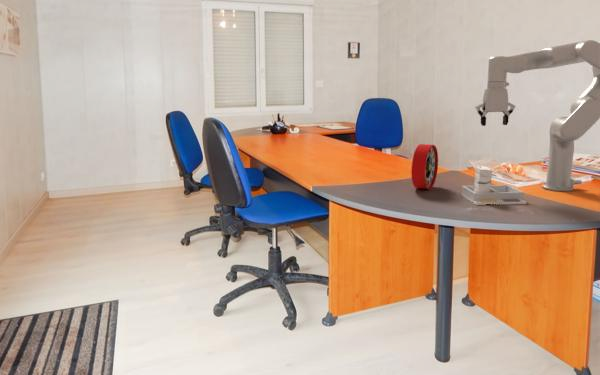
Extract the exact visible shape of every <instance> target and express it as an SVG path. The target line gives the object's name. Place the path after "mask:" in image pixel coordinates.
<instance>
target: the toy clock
mask: <svg viewBox="0 0 600 375" xmlns="http://www.w3.org/2000/svg"><path fill="white" fill-rule="evenodd" d="M438 167H439V154H438V149H437V147H436V145H434V144H428V143H427V144H425V143H419V144H418V145H417V146H416V147H415V150H414V153H413V156H412V161H411V170H410V172H411V182H412V185H413V187H414V188H415V189H419V190H420V189H422V190H431V189H433V187H434V185H435V183H436V179H437V176H438V169H439V168H438Z"/></svg>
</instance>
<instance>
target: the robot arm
mask: <svg viewBox="0 0 600 375" xmlns="http://www.w3.org/2000/svg"><path fill="white" fill-rule="evenodd" d="M579 63H587V64H589V65H591V66H592V68H591V69H592V74H593V75H592V76H593V78H592V81H591V84H590V85H588V87H587V88H586V89H585V90H584V91H583V92H582V93H581V94H580V95H579V97H578V98H576V100H574V101H573V103H572V104H571V106H570V109H569V110H570V111H569V112H570V115H569V116H559V117H557V118H555V119H554V120H553V121H552V122H551V123H550V126H549V148H548V151H549V152H548V159H547V169H546V181H545V183H542V184H541V188H543V189H545V190H548V191H555V192H572V191H574V189H575V185H582V180H581V179H574V178H572V171H573V162H574V161H573V160H574V154H575V141H577V140H579V139H580V138H583V136H584V135H585V134H586V133H587V132H588V131H589V130H590V129H591V128H592V127H593V126H594V125H595V124H596V123H597V122H598V121H599V120H600V42H598V41H597V40H596V41H595V40H593V39H588V40H582V41H576V42H571V43H567V44H563V45H562V44H561V45H555V46H550V47H546V48H544V49H541V50H540V49H539V50H536V51H531V52H526V53H520V54H516V55H511V56H503V55H498V56H490V57H489V60H488V65H487V66H488V67H487V68H488V69H487V70H488V71H487V82H486V85H487V88H485V89H484V93H483V98H482V101H481V103H479V104H478V105H475V107H474V108H475V110H476V113H477V114H478V115H479V116H480V124H481V126H482V127H485V126H486V125H487V117H486V115H487V114H488V113H503V116H502V125H503V126H508V123H509V119H510V117H509V116H511V114H512V113H513V112H514V111H515V108H516V105H515V104H513V103H510V102H509V92H508V89H507V86H508V87H509V85H510V82H507V76H508V75H507V74H508V73H510V74H520V73H523V72H526V71H533V70H541V69H553V68H558V67H563V66H569V65H575V64H579Z"/></svg>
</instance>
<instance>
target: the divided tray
mask: <svg viewBox="0 0 600 375" xmlns="http://www.w3.org/2000/svg"><path fill="white" fill-rule="evenodd" d="M524 194H525V192H524V191H522V190H520V189H518V188H516V187H513V186H512V185H510V184H491V188H490V192H487V193H475V192H474V185H461V196H462V197H463V198H465V199H467V200H468V201H469V200H470V201H469V202H471V203H472V202H473V203H472V204H474V205H475V204H476V206H487V205H486V204H491V206H493V205H492V204H494V206H495V204H496V205H497V204H498V205H499V204H500V205H527V200H525V199H524ZM498 205H497V206H498Z"/></svg>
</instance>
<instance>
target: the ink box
mask: <svg viewBox="0 0 600 375" xmlns="http://www.w3.org/2000/svg"><path fill="white" fill-rule="evenodd" d="M492 176H493V170H492V169H491V168H490V167H488V166H484V165H483V166H482V165H477V166H475V174H474V185H473V186H474V192H475V193H487V192H490V188H491V185H492Z"/></svg>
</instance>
